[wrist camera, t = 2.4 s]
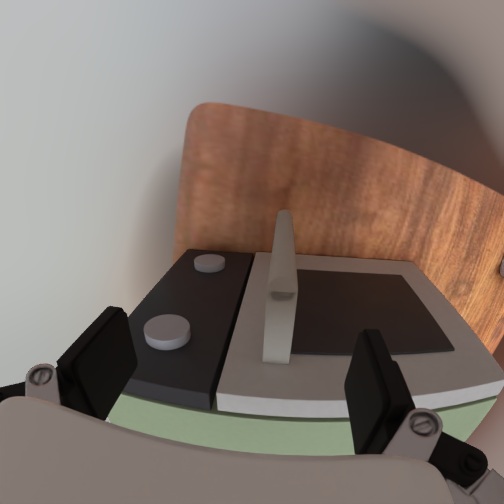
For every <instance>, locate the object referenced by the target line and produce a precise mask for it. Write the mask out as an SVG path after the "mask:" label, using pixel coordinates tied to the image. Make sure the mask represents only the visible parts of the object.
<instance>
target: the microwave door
mask: <svg viewBox="0 0 504 504" xmlns="http://www.w3.org/2000/svg"><path fill="white" fill-rule="evenodd" d="M364 329H379V330H380V332H381V334H382V337H383V339H384V341H385V344H386V346H387V348H388V350H389V353H390V355H391V358H392V360H393V361H397V363H398V365H399V367H400V369H401V372H402V374H403V376H404V379H405V381H406V384H407V386H408V389H409V391H410V394H411V396H412V399H413V401H414V404H415V407H416V409H417V408H427V409H436V408H442V407H447V406H452V405H457V404H462V403H467V402H471V401H475V400H479V399H483V398H487V397H491V396H495V395H498V394H499V392H500V391H501V389H502V388H503V386H504V372H503V371H502V369H501V368H500V366H499V365H498V363H497V362H496V361H495V359H494V358H493V356H492V355H491V354H490V352H489V351H488V350H487V348H486V347H485V346H484V344H483V343H482V342H481V340H480V339H479V338H478V336H477V335H476V334H475V333H474V331H473V330H472V329H471V328H470V326H469V325H468V324H467V323H466V321H465V320H464V319H463V318H462V317H461V315H460V314H459V313H458V312H457V311H456V309H455V308H454V307H453V306H452V305H451V303H450V302H449V301H448V300H447V299H446V298H445V297H444V295H443V294H442V293H441V292H440V291H439V290H438V289H437V288H436V286H435V285H434V284H433V283H432V282H431V281H430V280H429V279H428V278H427V277H426V276H425V274H424V273H423V272H422V271H421V270H420V269H419V268H418V267H417V266H416V265H415V264H414V263H413V262H409V261H393V260H378V259H362V258H346V257H331V256H315V255H299V254H295V242H294V230H293V218H292V214H291V212H290V211H288V210H286V209H283V210H280V211H279V212H278V213H277V217H276V225H275V232H274V239H273V247H272V253H268V252H256V255H255V258H254V262H253V265H252V269H251V273H250V276H249V280H248V283H247V287H246V290H245V294H244V297H243V301H242V304H241V308H240V311H239V315H238V318H237V322H236V325H235V329H234V332H233V336H232V339H231V343H230V346H229V350H228V353H227V357H226V360H225V364H224V367H223V371H222V374H221V378H220V381H219V385H218V388H217V392H216V397H217V408H218V410H220V411H228V412H236V413H245V414H255V415H266V416H281V417H306V418H341V417H349V414H348V408H347V402H346V397H345V391H344V383H345V379H346V376H347V372H348V369H349V366H350V362H351V359H352V355H353V352H354V348H355V345H356V341H357V337H358V334H359V332H363V330H364Z"/></svg>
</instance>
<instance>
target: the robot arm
mask: <svg viewBox="0 0 504 504" xmlns="http://www.w3.org/2000/svg"><path fill="white" fill-rule="evenodd" d="M57 365H58V366H57V367H56V368H54V366H52V365H50V364H39V365H36V366H34V367H32V368H31V369H30V370H29V371H28V373H27V375H26V381H25V382H22V383H18V384H13V385H9V386H5V387H0V504H504V478H503V477H502V476H500V475H499V474H498V473H497V472H496V471H495V470H494V469H492V470H491V471H490V470H489V469H488V468H487V466H488V461H487V458H486V456H485V454H484V453H483V452H482V451H481V450H479V449H477V448H475V447H473V446H471V445H469V444H467V443H465V442H463V441H461V440H459V439H457V438H455V437H453V436H451V435H449V434H447V433H445V432H443V431H442V429H443V422H442V420H441V418H440V416H439V415H438V414H437V413H436V412H434V411H432V410H430V409H427V408H417V409H416V407H415V404H414V401H413V399H412V396H411V394H410V391H409V389H408V386H407V384H406V381H405V379H404V376H403V374H402V372H401V369H400V367H399V365H398V363H397V361H393V360H392V358H391V355H390V353H389V350H388V348H387V346H386V344H385V341H384V339H383V337H382V334H381V332H380V330H379V329H364V330H363V332H359V334H358V337H357V341H356V345H355V348H354V352H353V355H352V359H351V362H350V366H349V369H348V372H347V376H346V379H345V383H344V391H345V397H346V402H347V408H348V414H349V420H350V426H351V432H352V438H353V445H354V452H355V455H332V456H307V455H276V454H262V453H250V452H241V451H233V450H225V449H218V448H211V447H205V446H199V445H194V444H189V443H184V442H179V441H174V440H170V439H165V438H161V437H157V436H153V435H149V434H145V433H142V432H138V431H135V430H131V429H128V428H124V427H121V426H118V425H115V424H112V423H109V422H105V420H106V418H107V417H108V415H109V413H110V411H111V410H112V408H113V406H114V405H115V403H116V401H117V400H118V398H119V396H120V395H121V393H122V391H123V390H124V388H125V386H126V385H127V383H128V381H129V380H130V378H131V376H132V375H133V373H134V371H135V370H136V368H137V365H138V360H137V356H136V352H135V348H134V344H133V340H132V336H131V331H130V327H129V322H128V317H127V314H126V313H125V312H124V310H123V309H122V308H119V307H113V306H109V307H107V308H106V309H105V310H104V311H103V313H101V315H100V316H99V317H98V318H97V319H96V320H95V321H94V322H93V323H92V324H91V325H90V326H89V327H88V328H87V329H86V330H85V331H84V332H83V333H82V334H81V335H80V337H79V338H78V339H77V340H76V341H75V342H74V343H73V344H72V345H71V346H70V347H69V348H68V349H67V351H66V352H65V353H64V354H63V355H62V356H61V357H60V358H59V359H58V361H57Z"/></svg>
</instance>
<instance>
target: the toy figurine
mask: <svg viewBox="0 0 504 504" xmlns="http://www.w3.org/2000/svg"><path fill="white" fill-rule="evenodd" d="M500 275H501V276H502V277H504V257H503V260H502V263H501V267H500Z"/></svg>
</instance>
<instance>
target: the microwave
mask: <svg viewBox="0 0 504 504" xmlns="http://www.w3.org/2000/svg"><path fill="white" fill-rule="evenodd" d="M252 260H253V254H248V253H232V252H217V251H202V250H187V251H186V252H185V253H184V254H183V255H182V256H181V257H180V258H179V259H178V261H177V262H176V263H175V264H174V265H173V266H172V267H171V268H170V269H169V271H168V272H167V273H166V274H165V275H164V276H163V278H161V280H160V281H159V282H158V283H157V284H156V285H155V286H154V288H153V289H152V290H151V291H150V292H149V293H148V294H147V296H146V297H145V298H144V299H143V300H142V301H141V303H140V304H139V305H138V306H137V307H136V309H135V310H134V311H133V312H132V313H131V314H130V316H129V317H128V322H129V327H130V331H131V336H132V340H133V344H134V348H135V352H136V356H137V360H138V365H137V368H136V370H135V371H134V373H133V375H132V376H131V378H130V380H129V381H128V383H127V385H126V386H125V388H124V390H123V391H122V393H121V395H120V396H119V398H118V400H117V401H116V403H115V405H114V406H113V408H112V410H111V411H110V413H109V415H108V418H109V420H110V422H111V423H112V424H115V425H118V426H121V427H124V428H128V429H131V430H135V431H138V432H142V433H145V434H149V435H153V436H157V437H161V438H165V439H170V440H174V441H179V442H184V443H189V444H194V445H199V446H205V447H211V448H218V449H225V450H233V451H241V452H250V453H262V454H276V455H307V456H332V455H355V452H354V445H353V438H352V432H351V426H350V420H349V417H341V418H306V417H281V416H266V415H255V414H245V413H236V412H228V411H220V410H218V408H217V397H216V392H217V388H218V385H219V381H220V378H221V374H222V371H223V367H224V364H225V360H226V357H227V353H228V350H229V346H230V343H231V339H232V336H233V332H234V329H235V325H236V322H237V318H238V315H239V311H240V308H241V304H242V301H243V297H244V294H245V290H246V287H247V283H248V280H249V276H250V273H251V269H252ZM496 400H497V397H496V396H491V397H487V398H483V399H479V400H475V401H471V402H467V403H462V404H457V405H452V406H447V407H442V408H436V409H430V410H432V411H434V412H436V413H437V414H438V415H439V416H440V418H441V420H442V422H443V429H442V431H443V432H445V433H447V434H449V435H451V436H453V437H455V438H457V439H459V440H461V441H463V442H465V441H466V440H467V438H468V437H469V436H470V434H472V432H473V431H474V429H475V428H476V427H477V426H478V425H479V423H480V422H481V421H482V419H483V418H484V417H485V415H486V414H487V413H488V411H489V410H490V408H491V407H492V405H493V404H494V402H495V401H496Z"/></svg>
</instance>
